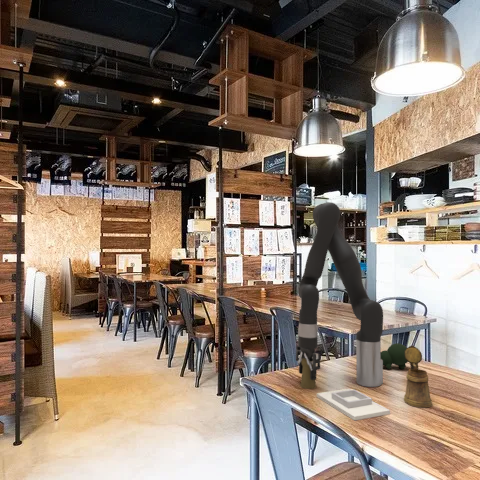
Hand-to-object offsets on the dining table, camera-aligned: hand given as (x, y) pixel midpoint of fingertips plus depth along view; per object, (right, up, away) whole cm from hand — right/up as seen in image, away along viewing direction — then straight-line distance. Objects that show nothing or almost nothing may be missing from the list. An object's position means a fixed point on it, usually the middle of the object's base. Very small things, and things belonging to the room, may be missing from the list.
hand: (307, 376), depth 162 cm
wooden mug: (+36, -4, -15) cm, 39 cm away
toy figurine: (+39, -4, +24) cm, 46 cm away
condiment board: (+12, -4, -19) cm, 23 cm away
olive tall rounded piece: (0, -4, 0) cm, 4 cm away
